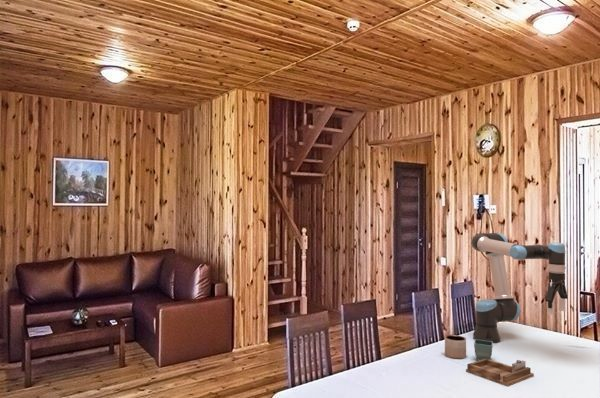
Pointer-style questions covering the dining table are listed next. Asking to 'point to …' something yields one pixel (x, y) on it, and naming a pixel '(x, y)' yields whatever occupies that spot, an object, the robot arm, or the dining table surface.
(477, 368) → the frame
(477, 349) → the flower pot
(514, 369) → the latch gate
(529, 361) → the dining table surface
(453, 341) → the planter
